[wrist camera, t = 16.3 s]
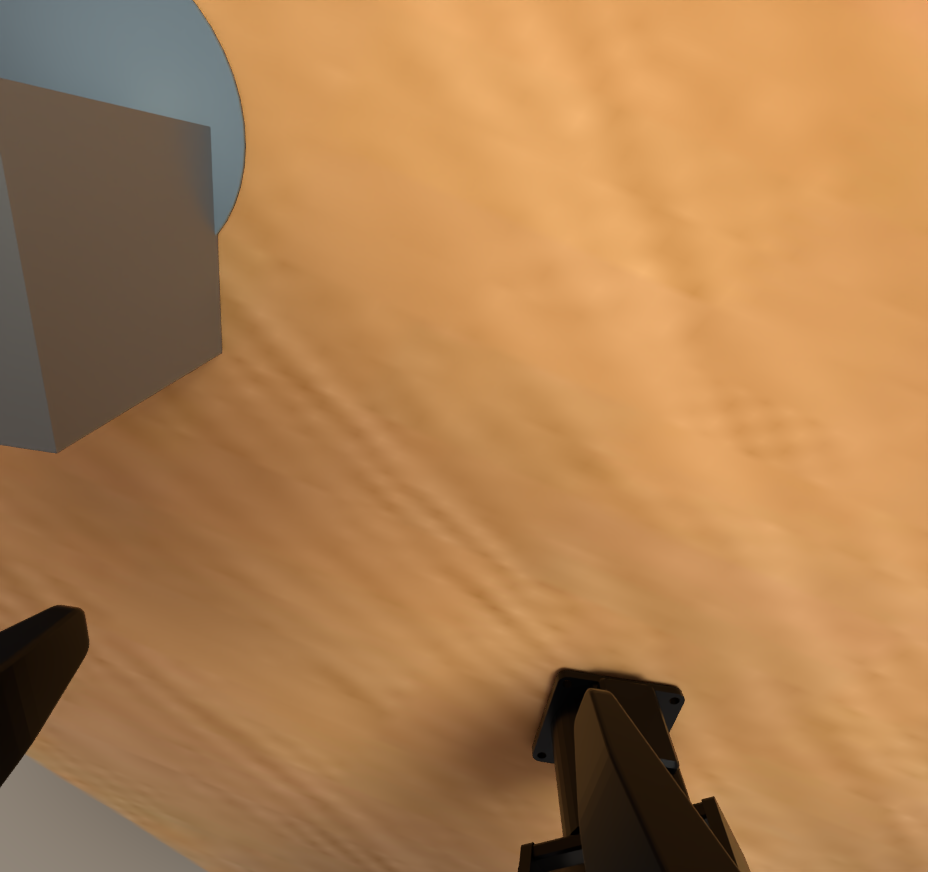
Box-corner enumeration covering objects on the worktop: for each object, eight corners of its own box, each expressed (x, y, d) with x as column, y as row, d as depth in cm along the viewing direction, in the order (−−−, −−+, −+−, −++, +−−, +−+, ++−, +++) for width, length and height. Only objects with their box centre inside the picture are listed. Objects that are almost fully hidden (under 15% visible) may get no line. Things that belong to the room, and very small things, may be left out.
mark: (245, 296, 20) (243, 297, 20) (-29, 247, 20) (-34, 247, 19) (245, -46, 16) (242, -49, 16) (-103, -116, 15) (-110, -120, 15)
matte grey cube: (222, 352, 21) (56, 453, 13) (21, 321, 21) (-274, 403, 13) (213, 127, 18) (-15, 74, 10) (-24, 87, 17) (-459, -1, 9)
